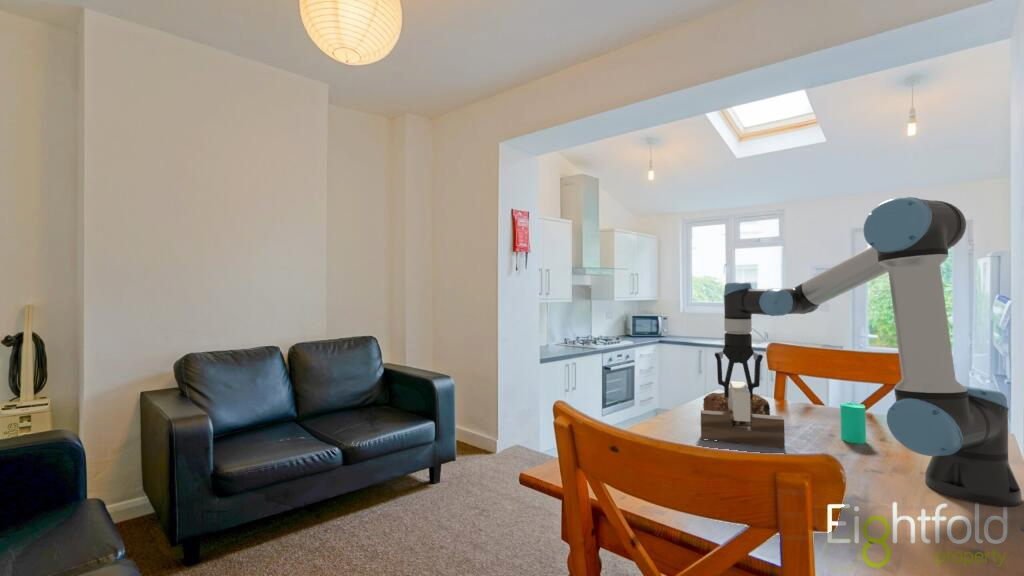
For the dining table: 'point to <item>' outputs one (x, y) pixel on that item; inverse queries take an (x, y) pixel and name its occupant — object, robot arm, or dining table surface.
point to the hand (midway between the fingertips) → (738, 408)
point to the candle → (853, 422)
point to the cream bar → (740, 401)
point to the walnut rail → (743, 429)
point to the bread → (721, 404)
